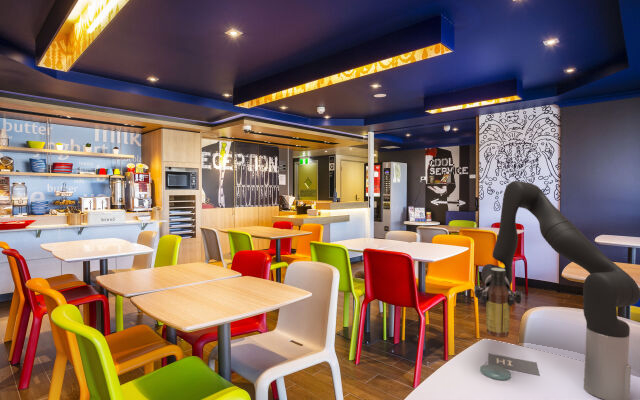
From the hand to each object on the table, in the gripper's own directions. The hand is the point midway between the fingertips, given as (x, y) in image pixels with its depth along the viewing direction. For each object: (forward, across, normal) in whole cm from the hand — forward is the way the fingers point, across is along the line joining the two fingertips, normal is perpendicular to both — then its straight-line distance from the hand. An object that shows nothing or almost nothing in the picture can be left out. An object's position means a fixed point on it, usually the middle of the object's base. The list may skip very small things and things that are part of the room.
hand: (498, 300), depth 106 cm
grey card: (-11, +5, +23) cm, 26 cm away
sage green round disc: (-2, 0, +23) cm, 23 cm away
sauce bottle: (-2, 0, +11) cm, 11 cm away
